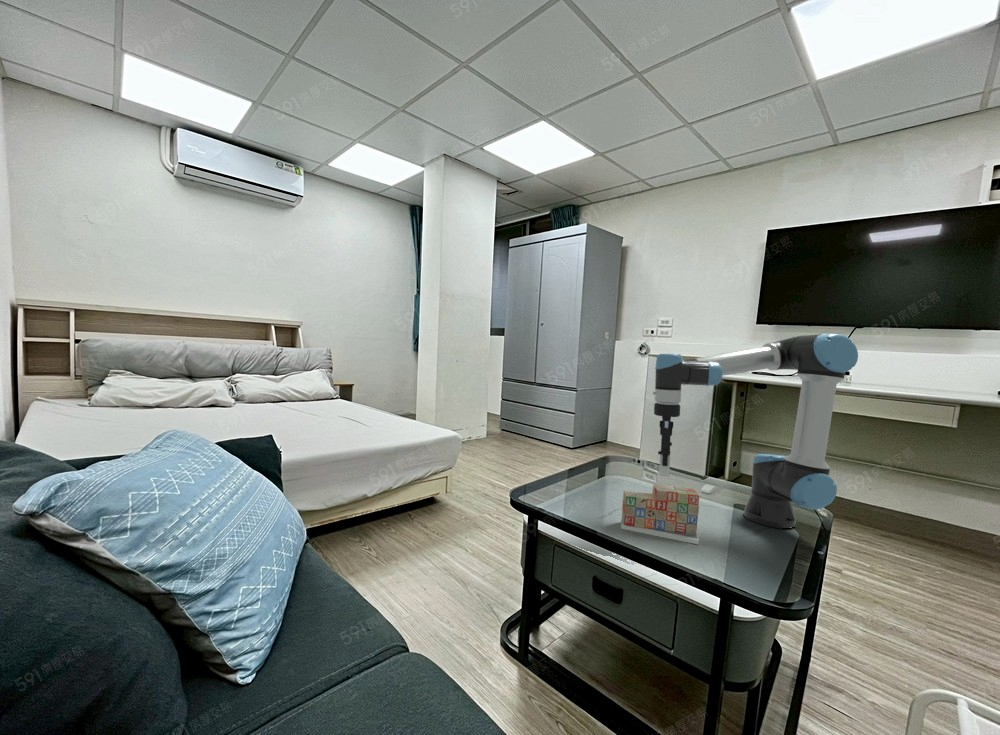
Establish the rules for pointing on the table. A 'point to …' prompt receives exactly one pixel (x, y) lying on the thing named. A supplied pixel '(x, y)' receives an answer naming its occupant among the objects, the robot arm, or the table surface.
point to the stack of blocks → (662, 509)
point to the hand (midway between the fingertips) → (664, 470)
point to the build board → (664, 533)
